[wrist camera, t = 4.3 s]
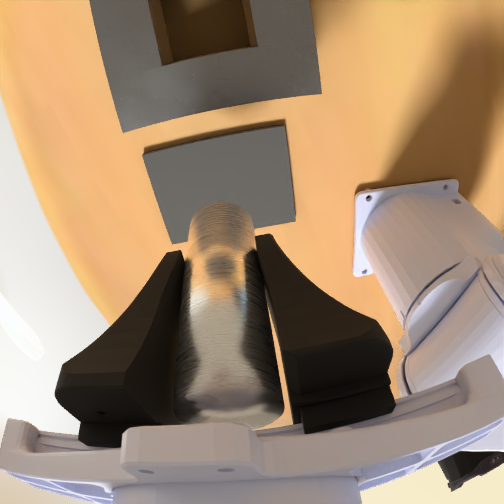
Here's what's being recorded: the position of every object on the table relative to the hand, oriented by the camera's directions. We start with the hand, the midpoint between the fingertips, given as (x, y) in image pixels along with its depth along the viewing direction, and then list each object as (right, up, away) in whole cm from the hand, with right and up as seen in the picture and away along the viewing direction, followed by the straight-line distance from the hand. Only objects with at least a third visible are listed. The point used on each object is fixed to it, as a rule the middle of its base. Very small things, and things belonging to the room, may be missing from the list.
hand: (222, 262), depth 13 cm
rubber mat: (-1, +5, +8) cm, 9 cm away
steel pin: (0, +1, +2) cm, 2 cm away
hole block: (-1, +14, +1) cm, 14 cm away
